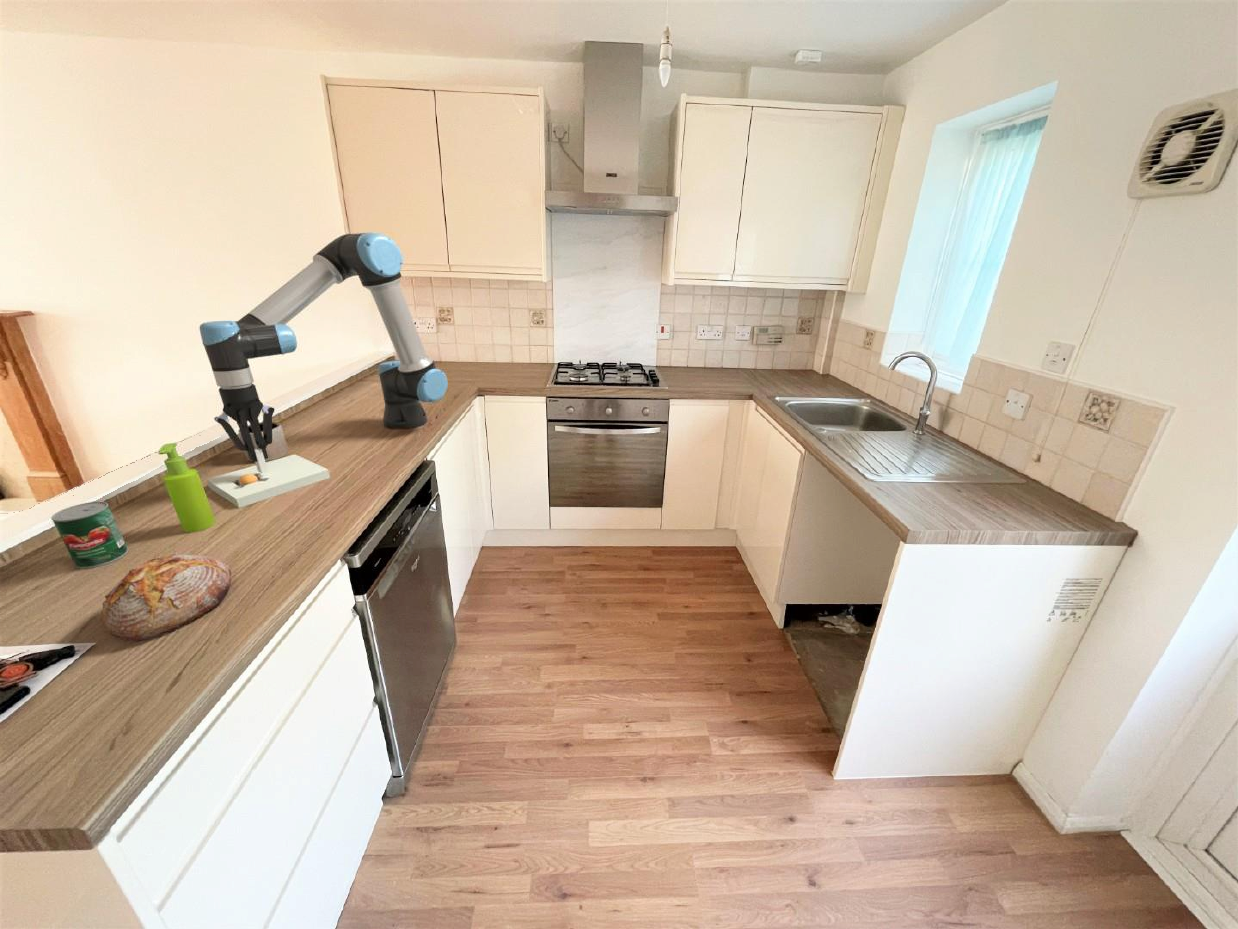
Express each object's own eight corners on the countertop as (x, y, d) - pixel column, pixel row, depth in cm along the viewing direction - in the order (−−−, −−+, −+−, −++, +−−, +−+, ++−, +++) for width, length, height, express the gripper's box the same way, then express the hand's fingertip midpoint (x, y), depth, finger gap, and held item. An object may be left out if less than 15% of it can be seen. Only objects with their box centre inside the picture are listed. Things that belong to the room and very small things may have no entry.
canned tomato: (82, 573, 96) (57, 524, 92) (70, 561, 100) (45, 513, 96) (134, 554, 102) (113, 507, 98) (121, 543, 106) (100, 498, 102)
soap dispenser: (178, 536, 109) (144, 452, 101) (187, 523, 114) (155, 442, 106) (211, 530, 111) (180, 448, 103) (218, 517, 117) (189, 438, 109)
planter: (239, 460, 150) (229, 430, 146) (273, 448, 159) (265, 420, 155) (263, 465, 146) (253, 435, 142) (297, 453, 155) (289, 424, 151)
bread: (83, 659, 77) (49, 609, 73) (158, 584, 95) (134, 540, 91) (201, 636, 80) (175, 586, 76) (252, 567, 98) (233, 524, 94)
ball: (250, 488, 133) (257, 474, 133) (257, 491, 130) (263, 477, 131) (234, 484, 129) (240, 470, 130) (240, 488, 127) (246, 474, 128)
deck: (297, 461, 148) (294, 454, 147) (330, 477, 138) (328, 469, 137) (209, 487, 132) (206, 479, 131) (239, 508, 121) (236, 499, 120)
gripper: (259, 378, 130) (283, 460, 139) (199, 388, 120) (229, 476, 130) (271, 382, 126) (295, 466, 135) (210, 393, 116) (240, 483, 126)
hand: (263, 471), depth 132 cm, fingers closed
